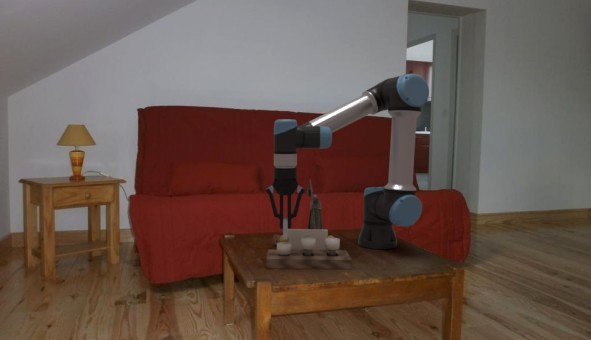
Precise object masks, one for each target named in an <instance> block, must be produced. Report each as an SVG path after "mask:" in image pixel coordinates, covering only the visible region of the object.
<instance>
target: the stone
mask: <svg viewBox="0 0 591 340" xmlns="http://www.w3.org/2000/svg"><path fill="white" fill-rule="evenodd" d="M281 236H282V235H278V234H274V235H273V237H272V238H273V241H274V244H275V245H276V246H277V243H279V242H280V237H281Z"/></svg>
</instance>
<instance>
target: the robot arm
mask: <svg viewBox="0 0 591 340" xmlns="http://www.w3.org/2000/svg"><path fill="white" fill-rule="evenodd" d="M429 97H430V89H429V86H428V82H427V81H426V80H425V79H424V77H423V76H421V75H419V74H417V73H404V74H402V75H397V76H394V77H390V78H389V77H388V78H387V79H384V80H381V82H378V83H377V84H375V85H373V86H372V87H370V88H368V89H367V90H364V91H363V92H362V94H361V95H360V96H358V97H357V98H356V97H355V98H354V99H352V100H350V101H348V102H346V103H344V104H342V105H340V106H338V107H336V108H334V109H332V110H329V111H328V112H326V113H324V114H322V115H319V116H318V117H316V118H314V119H311V120H310V121H309V120H308V121H307V122H306V123H304V124H301V125H298V121H297V120H296V119H287V118H286V119H284V118H283V119H282V118H281V119H276V120H275V121H274V124H273V166H274V168H273V182H272V185H270V186H269V187H267V188H266V189H265V192H266V193H267V195H268V197H269V201H270V203H271V205H270V206H271V209H272V213H273V216H274V218H277V219H279V229H280V230H282V235H283V239H288V229H292V219H293V218H296V217H297V216H298V212H299V208H300V203H301V199H302V196H303V195H304V192H305V190H306V189H305V188H304V187H302V186H300V185H299V182H298V169H297V167H296V166H297V165H298V149H299V150H300V149H302V150H303V149H304V150H305V149H307V150H308V149H309V150H312V149H315V150H317V149H318V150H322V149H323V150H324V149H328V148H330V147H331V145H332V142H333V133H334V132H337V131H338V130H341V129H342V128H344V127H347V126H349V125H350V124H353V123H355V122H356V121H358V120H361V119H363V118H364V117H367V116H368V115H376V114H378V113H380V112H383V111H387V113H388V114H389V115H390V116H391V128H390V129H391V130H390V147H389V149H390V150H389V162H388V163H389V164H388V165H389V166H388V182H387V183H386V185H384V186H379V187H377V186H376V187H374V186H373V187H366V188H365V189H364V192H363V220H362V221H363V223H362V227H361V230H360V232H359V236H358V242H357V244H358V245H359V246H361V247H364V248H367V249H374V250H375V249H376V250H388V249H389V250H390V249H395V248H397V246H398V238H397V235H396V231H395V228H394V226H397V227H405V228H406V227H411V226H413V225H414V224H415V223H416V222H417V221H418V220H419V219H420V217H421V215H422V212H423V205H422V201H421V200H420V198H419V197H417V188H416V186H414V184H413V182H414V167H415V149H416V134H417V131H416V129H417V118H418V117H419V116H420V115H421V114H422V107H423V106H424V105H425V104H426V102H428V99H429ZM274 191H275V192H276V193H277V195H279V211H278V210H277V204H276V201H275V196H274ZM295 191H297V196H296V200H295V204H294V207H293V212H292V195H293V194H294V193H295ZM284 196H287V197H286V198H287V207H286V208H287V217H284ZM278 212H279V213H278Z"/></svg>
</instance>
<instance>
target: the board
mask: <svg viewBox="0 0 591 340" xmlns="http://www.w3.org/2000/svg"><path fill="white" fill-rule="evenodd" d="M265 265H266V267H265V268H266V269H292V270H293V269H299V270H301V269H302V270H303V269H305V270H309V269H310V270H312V269H313V270H316V269H317V270H319V269H320V270H352V258H351V256H350V255H349V252H348V251H347V250H346V249H344V250H343V249H338V250H336V256H329V250H328V249H327V250H312V256H305V250H291V254H288V256H280V254H277V249H273V248H272V249H267V254H266V264H265Z"/></svg>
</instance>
